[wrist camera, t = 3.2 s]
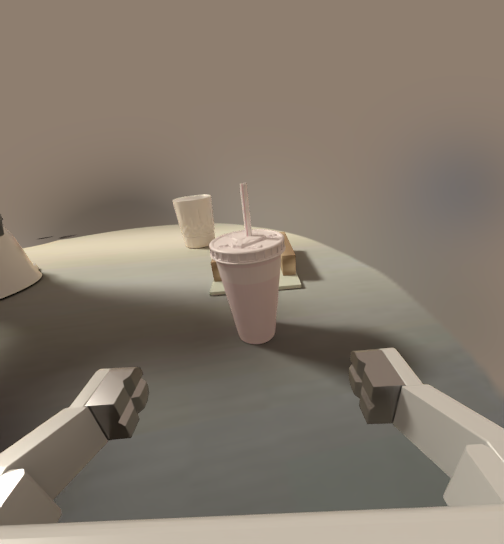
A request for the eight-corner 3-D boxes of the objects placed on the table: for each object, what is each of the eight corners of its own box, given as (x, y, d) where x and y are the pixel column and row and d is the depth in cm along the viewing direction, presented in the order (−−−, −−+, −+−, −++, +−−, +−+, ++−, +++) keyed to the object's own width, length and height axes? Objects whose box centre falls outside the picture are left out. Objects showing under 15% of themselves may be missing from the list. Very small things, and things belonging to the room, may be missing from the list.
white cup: (175, 248, 52) (163, 201, 48) (198, 237, 58) (189, 195, 54) (204, 250, 48) (194, 200, 44) (224, 239, 55) (218, 194, 50)
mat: (210, 295, 31) (209, 292, 31) (223, 253, 46) (222, 250, 46) (301, 287, 31) (301, 284, 31) (285, 247, 45) (285, 245, 45)
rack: (214, 281, 34) (210, 262, 32) (223, 253, 44) (220, 237, 43) (295, 274, 33) (295, 254, 32) (285, 247, 44) (284, 231, 43)
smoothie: (294, 316, 25) (290, 177, 20) (280, 361, 20) (270, 186, 14) (239, 309, 28) (221, 182, 22) (213, 348, 22) (180, 192, 16)
